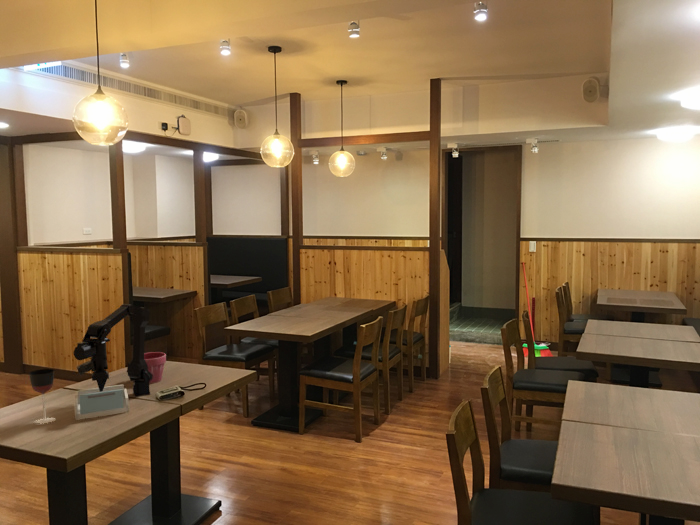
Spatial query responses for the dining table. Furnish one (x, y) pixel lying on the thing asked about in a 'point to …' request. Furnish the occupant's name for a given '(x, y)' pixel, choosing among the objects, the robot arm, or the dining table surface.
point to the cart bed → (101, 413)
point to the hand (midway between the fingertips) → (101, 391)
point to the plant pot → (155, 364)
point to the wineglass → (42, 387)
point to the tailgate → (101, 401)
